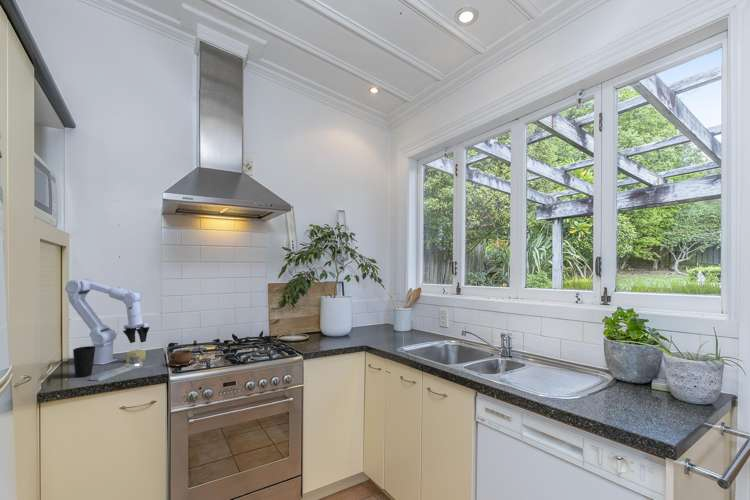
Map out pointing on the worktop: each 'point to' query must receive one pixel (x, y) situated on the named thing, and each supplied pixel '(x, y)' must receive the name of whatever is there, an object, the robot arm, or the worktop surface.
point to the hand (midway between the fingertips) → (138, 342)
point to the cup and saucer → (181, 358)
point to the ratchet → (119, 369)
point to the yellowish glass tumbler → (136, 353)
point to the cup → (83, 361)
